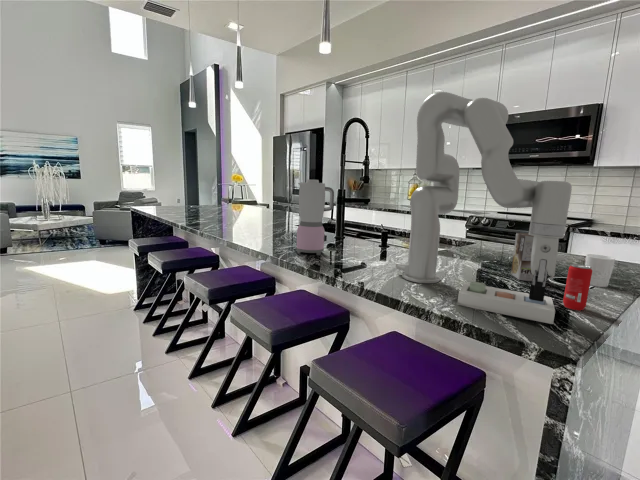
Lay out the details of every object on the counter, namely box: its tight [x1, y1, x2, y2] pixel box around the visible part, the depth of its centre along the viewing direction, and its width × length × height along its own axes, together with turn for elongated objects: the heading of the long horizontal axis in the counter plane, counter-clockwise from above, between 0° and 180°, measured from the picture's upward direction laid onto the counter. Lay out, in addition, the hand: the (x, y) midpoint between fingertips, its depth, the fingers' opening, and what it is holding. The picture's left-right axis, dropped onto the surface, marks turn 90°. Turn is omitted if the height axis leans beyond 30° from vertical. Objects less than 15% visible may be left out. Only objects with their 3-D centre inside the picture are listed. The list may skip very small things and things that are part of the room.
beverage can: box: [562, 263, 592, 312], centre depth 95 cm, size 5×5×12 cm
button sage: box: [469, 281, 487, 294], centre depth 97 cm, size 4×4×3 cm
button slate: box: [526, 297, 544, 305], centre depth 90 cm, size 4×4×3 cm
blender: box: [295, 178, 335, 256], centre depth 150 cm, size 16×12×32 cm
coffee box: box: [510, 232, 534, 282], centre depth 124 cm, size 9×6×16 cm
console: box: [456, 282, 556, 325], centre depth 94 cm, size 22×12×3 cm, turn 60°
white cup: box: [584, 253, 616, 288], centre depth 120 cm, size 8×8×10 cm
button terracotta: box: [497, 292, 513, 299], centre depth 94 cm, size 4×4×3 cm
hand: (535, 299), depth 90 cm, fingers closed
